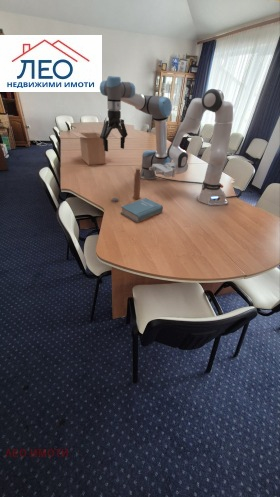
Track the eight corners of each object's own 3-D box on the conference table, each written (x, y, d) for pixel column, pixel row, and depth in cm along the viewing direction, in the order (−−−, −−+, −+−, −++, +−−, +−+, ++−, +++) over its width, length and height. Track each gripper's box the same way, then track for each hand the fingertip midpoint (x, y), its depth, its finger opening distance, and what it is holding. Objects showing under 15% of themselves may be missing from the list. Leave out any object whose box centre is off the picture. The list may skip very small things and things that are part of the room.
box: (116, 165, 229) (116, 136, 213) (83, 168, 214) (80, 137, 198) (102, 154, 259) (101, 128, 243) (71, 156, 244) (68, 129, 228)
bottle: (134, 199, 164) (136, 170, 151) (132, 196, 168) (133, 168, 155) (140, 198, 166) (142, 169, 153) (138, 196, 169) (139, 167, 156)
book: (145, 204, 158) (145, 197, 155) (162, 212, 149) (163, 206, 146) (121, 213, 145) (121, 206, 142) (138, 223, 136) (138, 216, 133)
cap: (118, 201, 160) (118, 199, 159) (113, 202, 158) (113, 200, 157) (116, 199, 162) (116, 197, 161) (110, 200, 160) (110, 198, 159)
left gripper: (101, 111, 117) (102, 153, 130) (133, 110, 132) (132, 148, 145) (92, 109, 121) (94, 150, 134) (125, 109, 136) (124, 146, 149)
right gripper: (161, 161, 172) (146, 162, 166) (177, 168, 157) (160, 170, 152) (160, 169, 175) (145, 170, 170) (175, 177, 161) (159, 179, 155)
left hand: (114, 149), depth 139 cm, fingers open, 13 cm apart
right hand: (152, 170), depth 161 cm, fingers open, 8 cm apart
